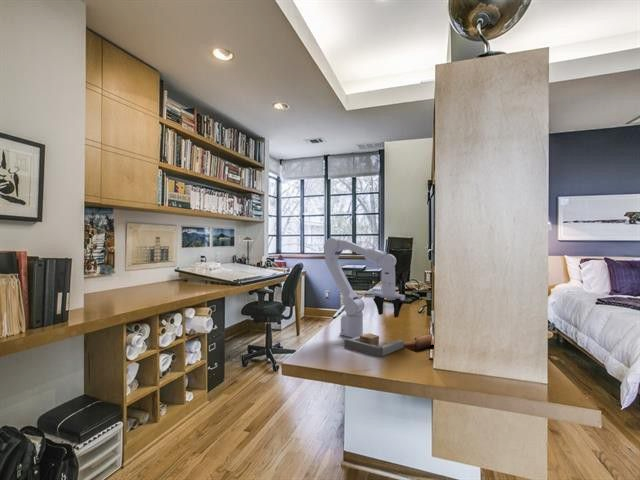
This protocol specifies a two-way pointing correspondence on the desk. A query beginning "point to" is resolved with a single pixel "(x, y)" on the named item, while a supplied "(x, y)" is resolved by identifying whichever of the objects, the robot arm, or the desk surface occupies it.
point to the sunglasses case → (419, 343)
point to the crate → (370, 339)
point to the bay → (372, 346)
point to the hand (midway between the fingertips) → (388, 315)
